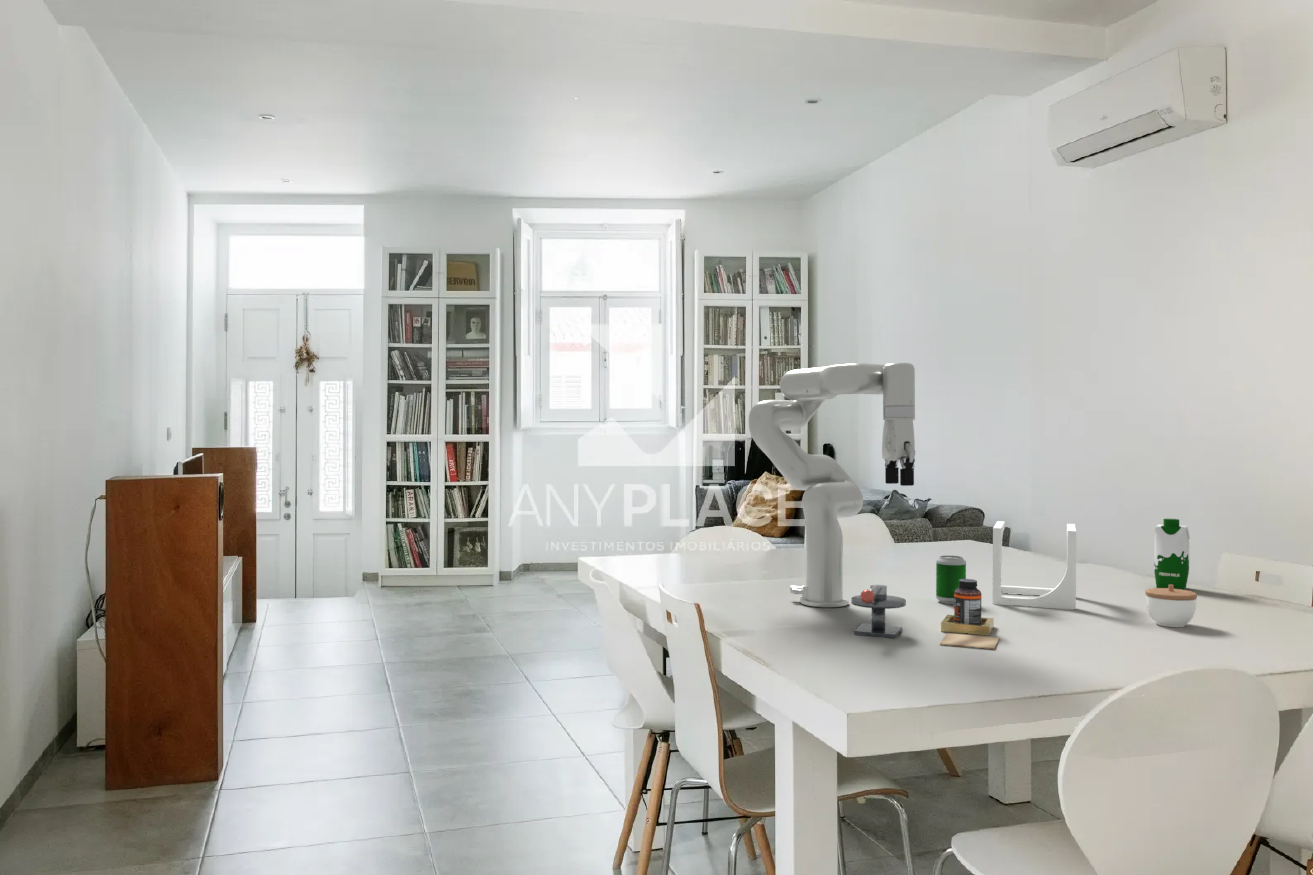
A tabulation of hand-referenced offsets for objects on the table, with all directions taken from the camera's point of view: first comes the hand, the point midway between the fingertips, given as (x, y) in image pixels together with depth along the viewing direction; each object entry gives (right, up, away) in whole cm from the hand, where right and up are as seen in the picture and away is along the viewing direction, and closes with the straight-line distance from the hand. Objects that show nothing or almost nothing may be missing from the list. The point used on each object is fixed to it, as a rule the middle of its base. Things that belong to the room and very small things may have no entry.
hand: (899, 484), depth 239 cm
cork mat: (+9, -33, -27) cm, 43 cm away
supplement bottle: (+12, -33, -13) cm, 37 cm away
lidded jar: (+62, -33, -8) cm, 70 cm away
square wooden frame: (+12, -33, -13) cm, 37 cm away
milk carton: (+89, -32, +44) cm, 104 cm away
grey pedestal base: (-9, -33, -17) cm, 38 cm away
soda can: (+19, -32, +21) cm, 43 cm away
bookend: (+42, -32, +24) cm, 58 cm away
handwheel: (-10, -26, -20) cm, 35 cm away
